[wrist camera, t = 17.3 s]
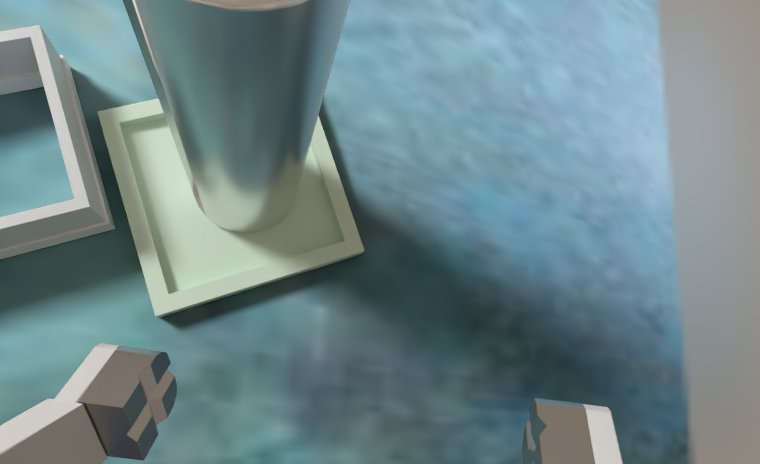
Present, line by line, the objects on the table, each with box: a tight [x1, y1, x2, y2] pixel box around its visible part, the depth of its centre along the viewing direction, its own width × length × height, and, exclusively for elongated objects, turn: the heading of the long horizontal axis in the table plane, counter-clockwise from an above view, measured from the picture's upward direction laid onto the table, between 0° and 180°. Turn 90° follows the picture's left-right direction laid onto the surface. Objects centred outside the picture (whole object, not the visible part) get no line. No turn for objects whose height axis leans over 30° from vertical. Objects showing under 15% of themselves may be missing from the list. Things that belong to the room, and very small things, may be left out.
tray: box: [97, 99, 365, 318], centre depth 35 cm, size 13×13×1 cm
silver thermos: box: [123, 0, 350, 233], centre depth 24 cm, size 6×6×25 cm
